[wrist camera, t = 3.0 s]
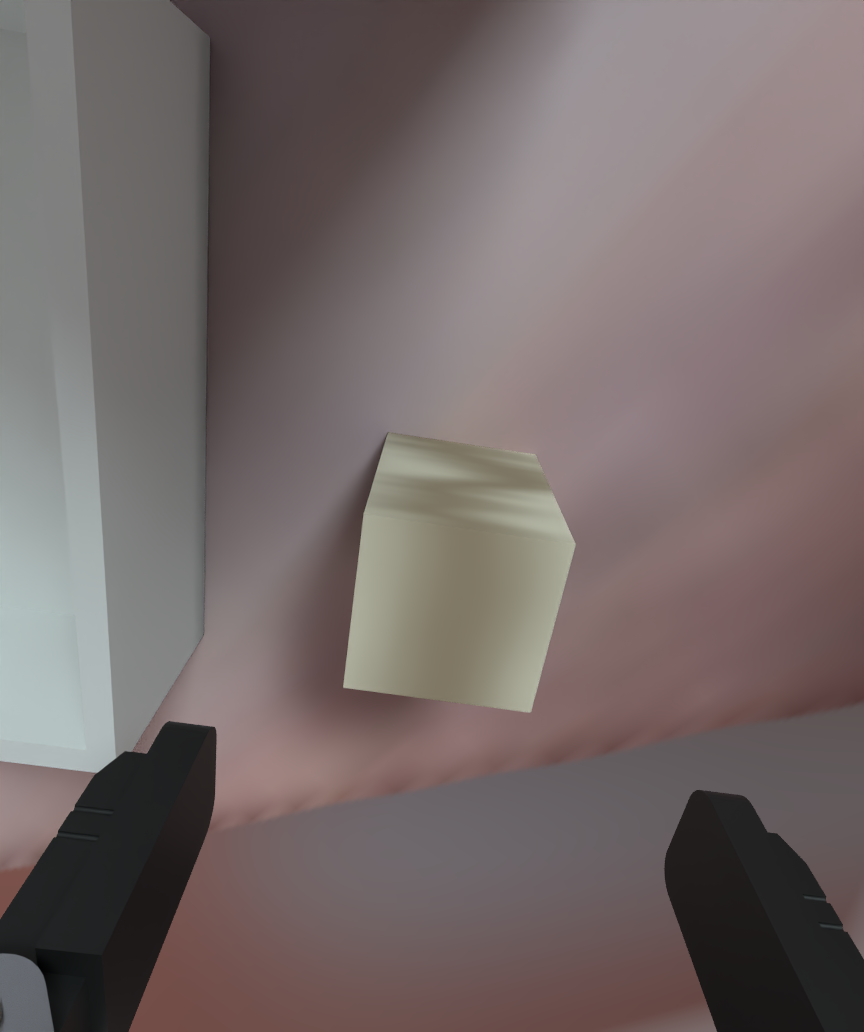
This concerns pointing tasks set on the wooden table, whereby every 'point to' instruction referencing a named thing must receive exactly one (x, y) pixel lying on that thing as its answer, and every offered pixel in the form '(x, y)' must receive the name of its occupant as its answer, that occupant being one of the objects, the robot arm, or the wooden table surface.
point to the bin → (100, 370)
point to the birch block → (457, 575)
